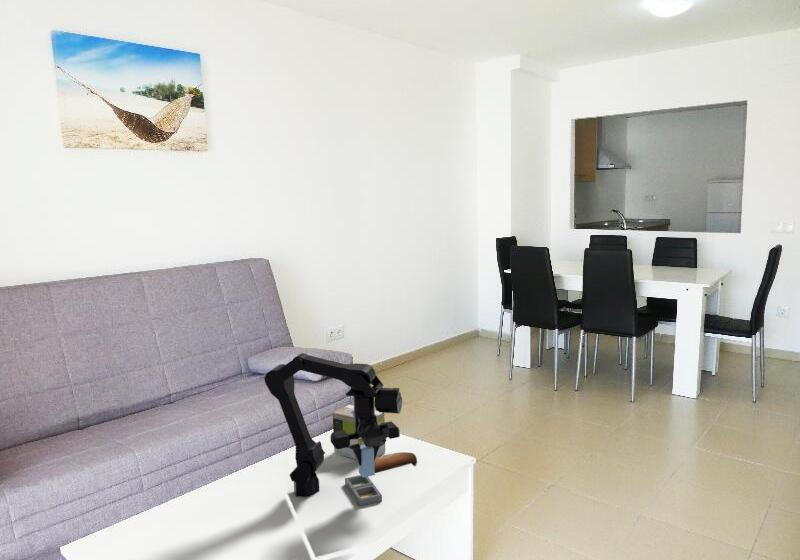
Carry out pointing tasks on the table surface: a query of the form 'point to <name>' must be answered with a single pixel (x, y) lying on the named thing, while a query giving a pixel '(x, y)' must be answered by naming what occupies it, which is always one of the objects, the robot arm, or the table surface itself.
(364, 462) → the plug
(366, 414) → the robot arm
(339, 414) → the tea box
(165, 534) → the table surface
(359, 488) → the panel
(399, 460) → the sunglasses case
